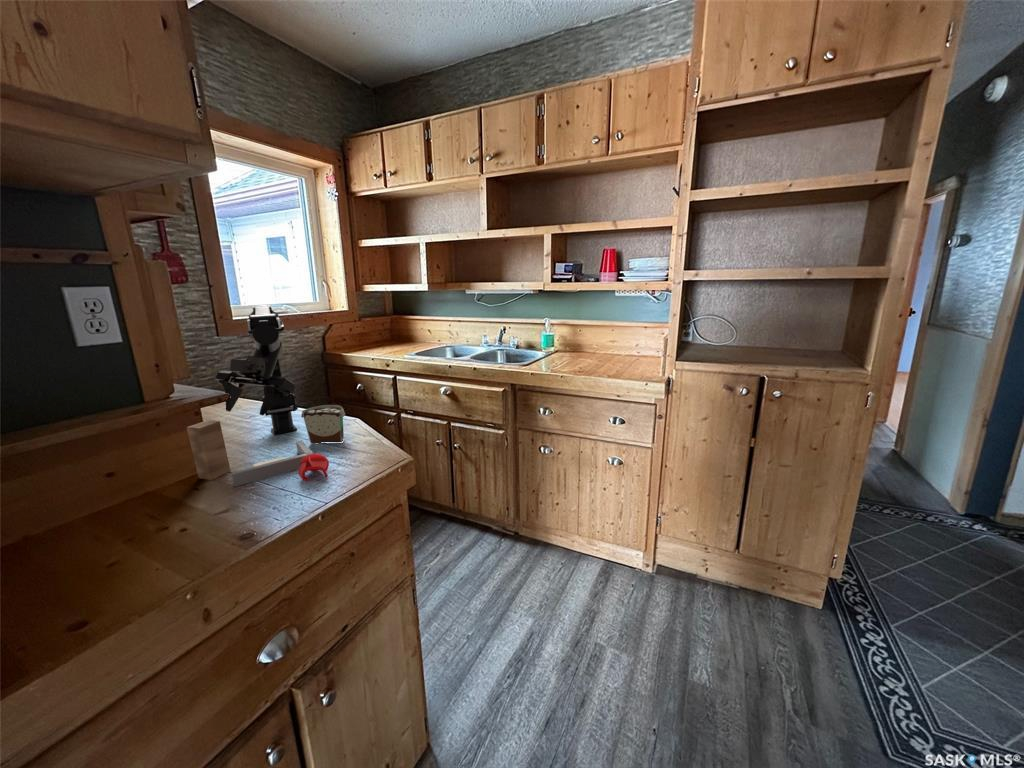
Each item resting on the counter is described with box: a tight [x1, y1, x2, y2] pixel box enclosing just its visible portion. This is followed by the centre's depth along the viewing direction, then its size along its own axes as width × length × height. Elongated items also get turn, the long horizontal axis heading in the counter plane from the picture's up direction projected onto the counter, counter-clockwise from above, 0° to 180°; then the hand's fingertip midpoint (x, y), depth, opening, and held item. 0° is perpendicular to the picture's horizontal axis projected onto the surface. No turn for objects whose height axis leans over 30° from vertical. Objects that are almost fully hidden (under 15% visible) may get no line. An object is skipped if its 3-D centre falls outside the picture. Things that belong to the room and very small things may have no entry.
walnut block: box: [186, 419, 231, 481], centre depth 99 cm, size 4×5×13 cm
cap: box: [297, 453, 330, 482], centre depth 96 cm, size 8×6×6 cm
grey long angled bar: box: [230, 440, 314, 488], centre depth 103 cm, size 12×17×3 cm
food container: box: [300, 404, 346, 444], centre depth 119 cm, size 12×6×10 cm, turn 84°
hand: (244, 413), depth 105 cm, fingers open, 9 cm apart
